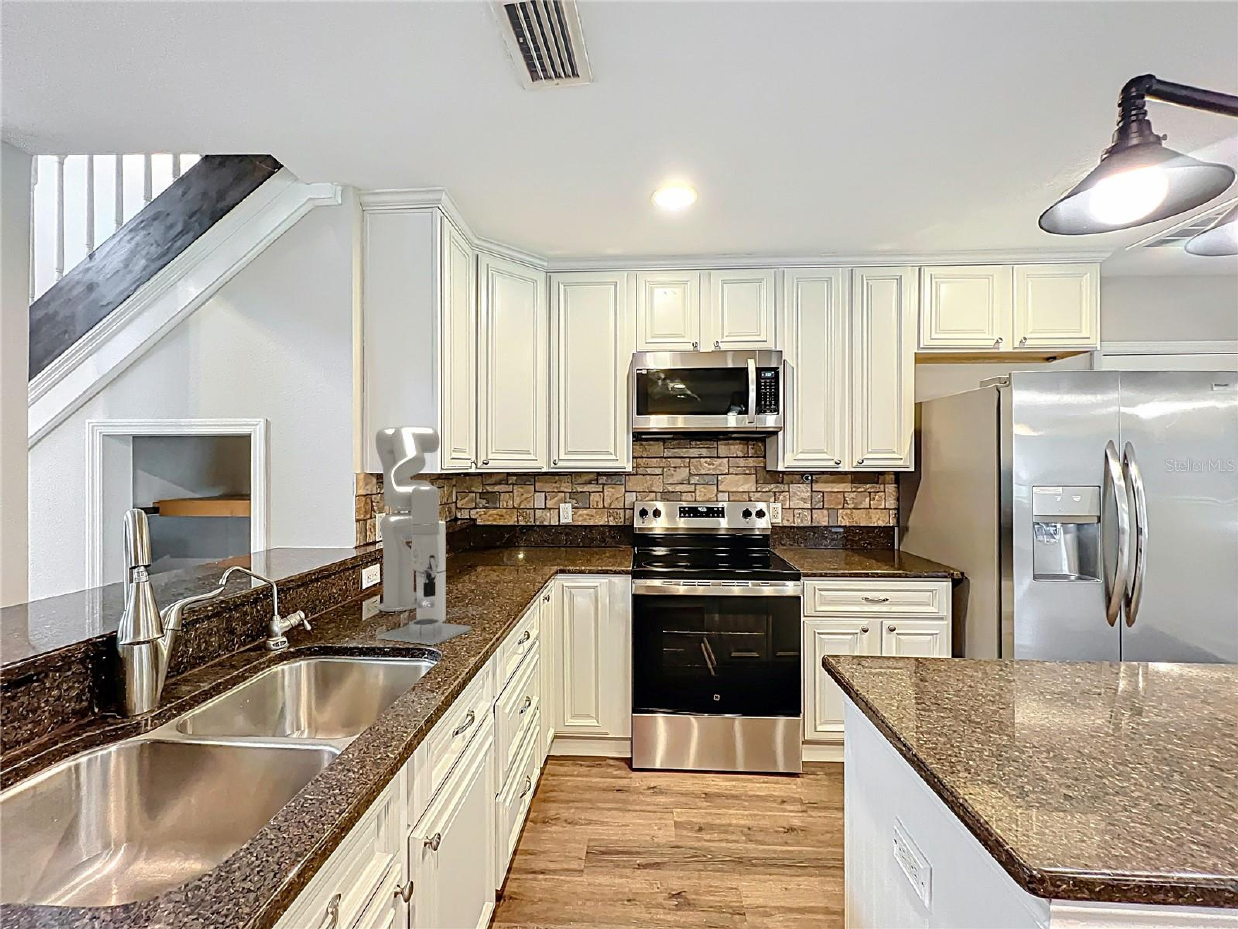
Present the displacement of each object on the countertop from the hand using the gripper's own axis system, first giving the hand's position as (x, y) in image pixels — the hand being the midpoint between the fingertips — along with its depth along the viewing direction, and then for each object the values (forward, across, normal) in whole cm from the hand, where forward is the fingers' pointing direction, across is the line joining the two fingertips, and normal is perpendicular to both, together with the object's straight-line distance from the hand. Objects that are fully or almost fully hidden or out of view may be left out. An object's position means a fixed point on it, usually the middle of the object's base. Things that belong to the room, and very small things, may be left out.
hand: (425, 594), depth 180 cm
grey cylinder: (+3, 0, 0) cm, 3 cm away
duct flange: (+11, 0, 0) cm, 11 cm away
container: (+11, -16, +7) cm, 21 cm away
